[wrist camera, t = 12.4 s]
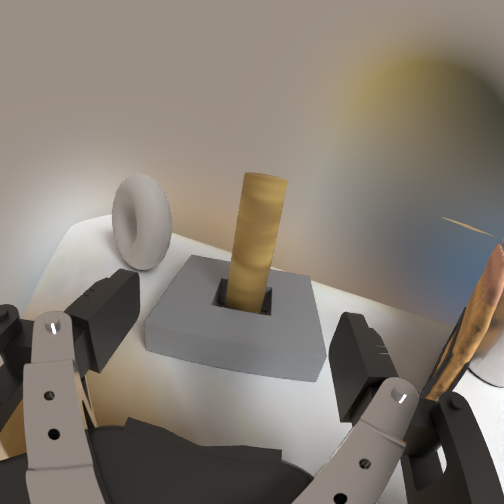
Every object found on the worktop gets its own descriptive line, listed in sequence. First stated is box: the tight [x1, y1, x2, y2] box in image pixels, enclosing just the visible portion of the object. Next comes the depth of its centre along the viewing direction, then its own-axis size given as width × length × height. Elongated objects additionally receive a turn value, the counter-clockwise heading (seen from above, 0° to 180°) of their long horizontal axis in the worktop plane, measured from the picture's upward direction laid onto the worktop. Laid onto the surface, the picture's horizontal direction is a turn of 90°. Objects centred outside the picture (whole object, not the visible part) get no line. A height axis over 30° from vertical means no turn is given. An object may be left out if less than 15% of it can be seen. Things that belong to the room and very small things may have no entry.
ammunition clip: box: [419, 244, 504, 401], centre depth 17 cm, size 11×2×12 cm, turn 132°
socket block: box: [144, 255, 327, 382], centre depth 23 cm, size 12×12×2 cm
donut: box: [112, 174, 172, 270], centre depth 28 cm, size 10×3×10 cm, turn 48°
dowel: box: [224, 173, 287, 314], centre depth 21 cm, size 3×3×12 cm
